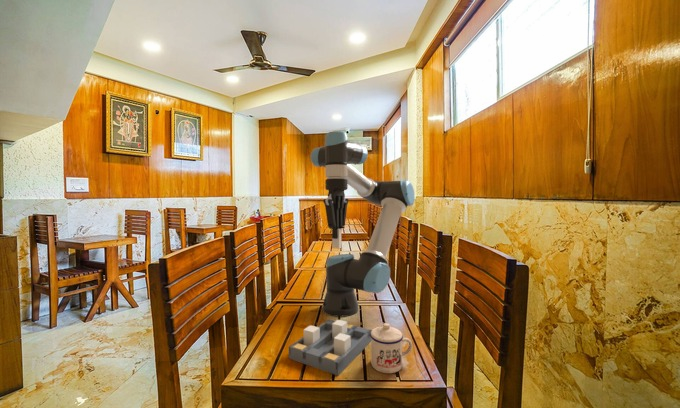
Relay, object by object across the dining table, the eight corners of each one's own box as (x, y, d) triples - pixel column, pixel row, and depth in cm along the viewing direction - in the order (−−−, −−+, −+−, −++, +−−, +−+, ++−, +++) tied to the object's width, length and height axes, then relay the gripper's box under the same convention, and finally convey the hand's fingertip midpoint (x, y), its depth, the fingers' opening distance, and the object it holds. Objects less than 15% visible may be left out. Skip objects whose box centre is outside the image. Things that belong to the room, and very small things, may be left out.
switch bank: (328, 329, 105) (328, 318, 105) (371, 340, 97) (371, 329, 97) (288, 358, 86) (288, 346, 86) (338, 375, 78) (338, 362, 78)
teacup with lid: (374, 375, 78) (374, 332, 77) (367, 357, 87) (367, 318, 86) (417, 372, 79) (417, 330, 79) (406, 354, 88) (406, 316, 88)
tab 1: (310, 340, 94) (310, 325, 94) (319, 343, 92) (319, 327, 92) (303, 345, 91) (303, 329, 90) (313, 348, 89) (313, 332, 89)
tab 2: (338, 334, 98) (337, 319, 98) (347, 336, 96) (347, 321, 96) (332, 338, 95) (332, 323, 95) (341, 341, 93) (341, 326, 93)
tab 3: (340, 349, 88) (340, 333, 88) (350, 352, 86) (350, 335, 86) (334, 355, 85) (333, 338, 85) (344, 358, 83) (344, 341, 83)
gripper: (336, 179, 106) (337, 244, 107) (316, 177, 95) (316, 250, 96) (355, 179, 102) (355, 245, 103) (336, 176, 91) (336, 252, 92)
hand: (336, 247), depth 99 cm, fingers closed
